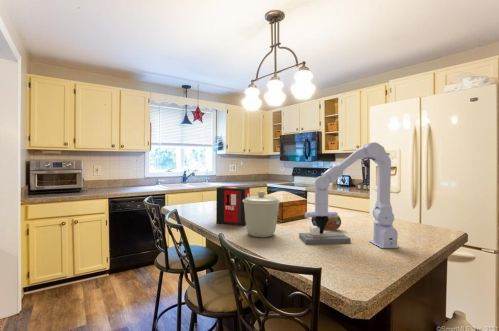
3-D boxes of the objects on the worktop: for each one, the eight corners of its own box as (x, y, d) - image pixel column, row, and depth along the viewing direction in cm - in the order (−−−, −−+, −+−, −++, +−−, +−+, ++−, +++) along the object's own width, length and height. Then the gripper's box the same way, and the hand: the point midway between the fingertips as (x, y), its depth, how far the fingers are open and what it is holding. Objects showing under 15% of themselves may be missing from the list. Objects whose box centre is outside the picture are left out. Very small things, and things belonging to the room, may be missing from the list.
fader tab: (319, 236, 118) (319, 228, 118) (312, 236, 118) (313, 228, 118) (316, 234, 122) (316, 225, 122) (309, 234, 122) (309, 225, 121)
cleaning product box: (249, 222, 152) (249, 187, 152) (244, 226, 144) (244, 189, 143) (222, 220, 157) (222, 186, 157) (216, 223, 149) (216, 187, 148)
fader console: (350, 242, 117) (350, 237, 117) (306, 244, 114) (306, 238, 114) (340, 236, 127) (340, 230, 126) (299, 237, 124) (299, 231, 124)
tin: (311, 227, 142) (311, 211, 142) (312, 226, 145) (312, 210, 145) (340, 231, 135) (340, 214, 135) (341, 229, 138) (341, 213, 138)
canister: (277, 241, 117) (278, 194, 117) (238, 238, 121) (238, 192, 120) (281, 230, 135) (281, 189, 135) (246, 228, 139) (246, 188, 138)
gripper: (333, 201, 125) (332, 230, 125) (302, 201, 123) (302, 230, 123) (339, 203, 118) (339, 234, 118) (308, 204, 116) (307, 235, 116)
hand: (320, 233), depth 120 cm, fingers closed
